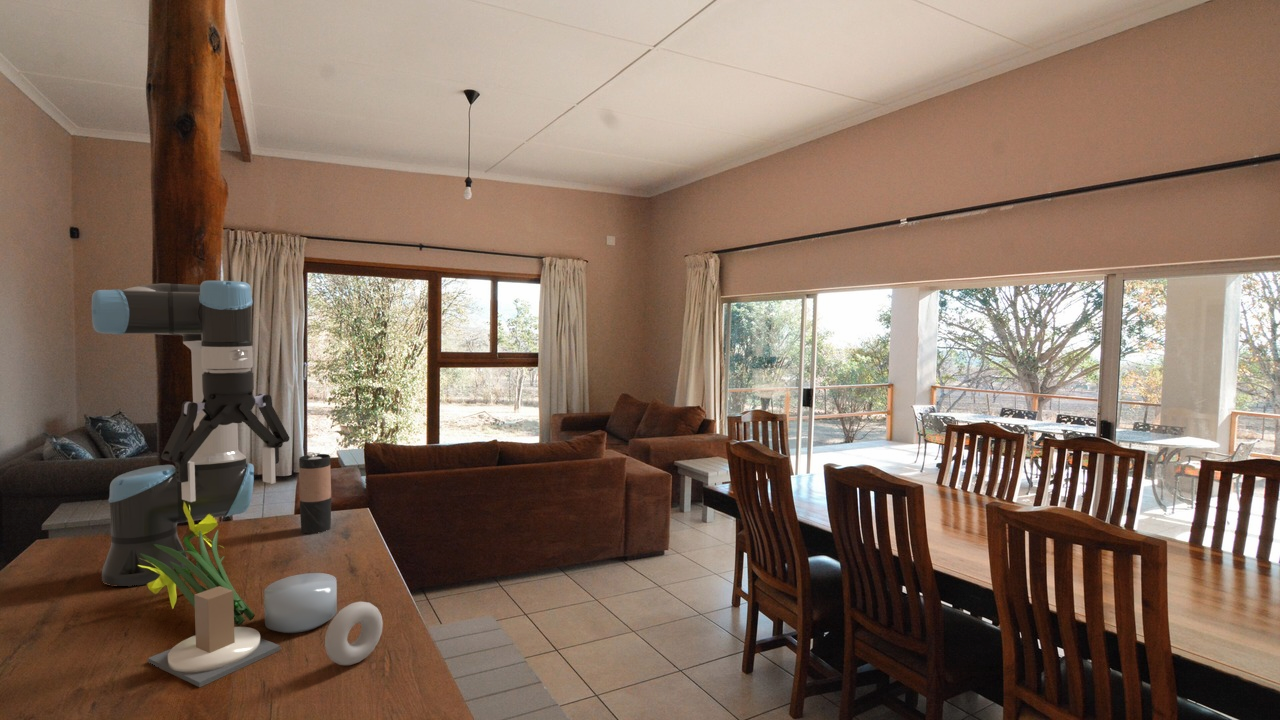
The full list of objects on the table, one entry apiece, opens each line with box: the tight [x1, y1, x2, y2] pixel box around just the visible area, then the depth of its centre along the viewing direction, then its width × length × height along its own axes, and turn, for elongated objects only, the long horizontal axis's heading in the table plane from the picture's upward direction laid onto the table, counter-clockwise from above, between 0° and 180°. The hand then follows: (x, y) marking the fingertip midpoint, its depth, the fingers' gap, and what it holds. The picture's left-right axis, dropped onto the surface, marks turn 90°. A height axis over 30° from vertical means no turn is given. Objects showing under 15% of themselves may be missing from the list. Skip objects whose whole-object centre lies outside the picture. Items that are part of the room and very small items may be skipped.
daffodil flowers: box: [138, 502, 256, 627], centre depth 126 cm, size 17×15×35 cm
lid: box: [168, 586, 261, 673], centre depth 108 cm, size 13×13×10 cm
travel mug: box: [298, 453, 332, 534], centre depth 174 cm, size 8×8×20 cm
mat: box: [147, 637, 281, 688], centre depth 109 cm, size 15×13×1 cm
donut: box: [324, 601, 384, 666], centre depth 107 cm, size 10×4×10 cm, turn 148°
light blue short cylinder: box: [263, 572, 338, 634], centre depth 121 cm, size 12×12×7 cm
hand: (231, 491), depth 113 cm, fingers open, 13 cm apart
